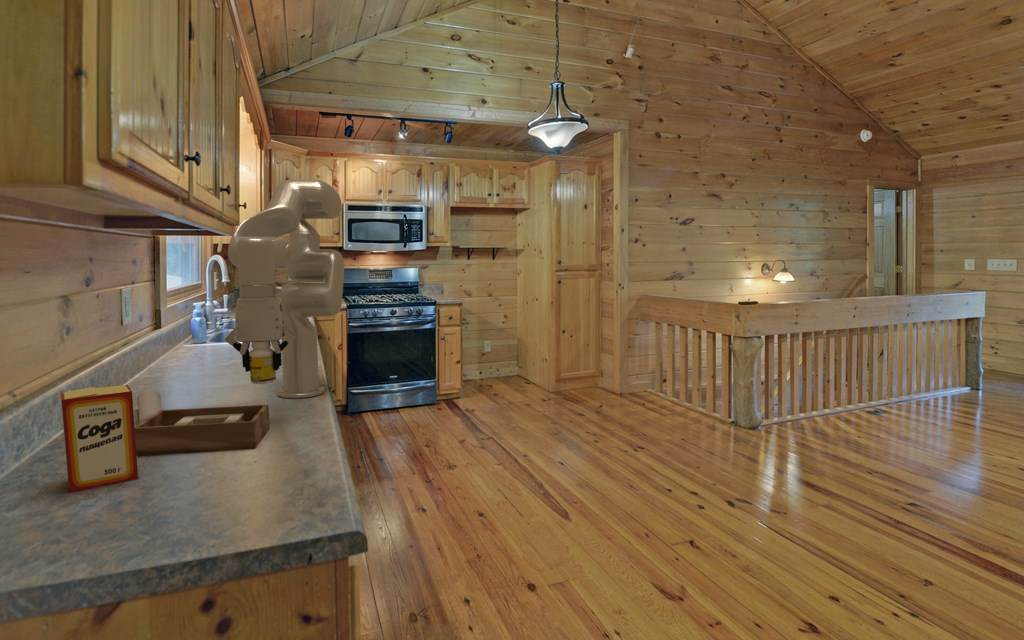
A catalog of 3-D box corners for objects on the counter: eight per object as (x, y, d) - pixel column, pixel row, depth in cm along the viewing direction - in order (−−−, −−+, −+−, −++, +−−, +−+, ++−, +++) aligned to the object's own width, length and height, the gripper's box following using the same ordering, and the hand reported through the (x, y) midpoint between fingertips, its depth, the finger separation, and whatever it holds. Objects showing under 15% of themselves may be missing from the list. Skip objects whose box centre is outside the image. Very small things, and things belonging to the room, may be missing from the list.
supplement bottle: (245, 382, 130) (243, 341, 129) (266, 377, 135) (264, 337, 133) (260, 386, 127) (257, 343, 126) (281, 381, 132) (278, 339, 131)
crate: (162, 434, 123) (160, 410, 123) (269, 428, 128) (268, 404, 127) (133, 456, 110) (131, 428, 109) (255, 448, 114) (253, 422, 114)
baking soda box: (133, 468, 103) (127, 382, 102) (138, 478, 98) (131, 388, 97) (68, 481, 97) (60, 390, 96) (69, 492, 92) (61, 397, 91)
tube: (169, 413, 126) (163, 391, 147) (142, 409, 123) (140, 387, 144) (161, 437, 126) (157, 411, 146) (134, 433, 123) (133, 407, 143)
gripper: (300, 290, 134) (304, 364, 136) (221, 291, 130) (227, 367, 133) (295, 293, 126) (299, 371, 129) (212, 294, 123) (218, 375, 125)
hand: (262, 369), depth 131 cm, fingers closed on supplement bottle, 5 cm apart
